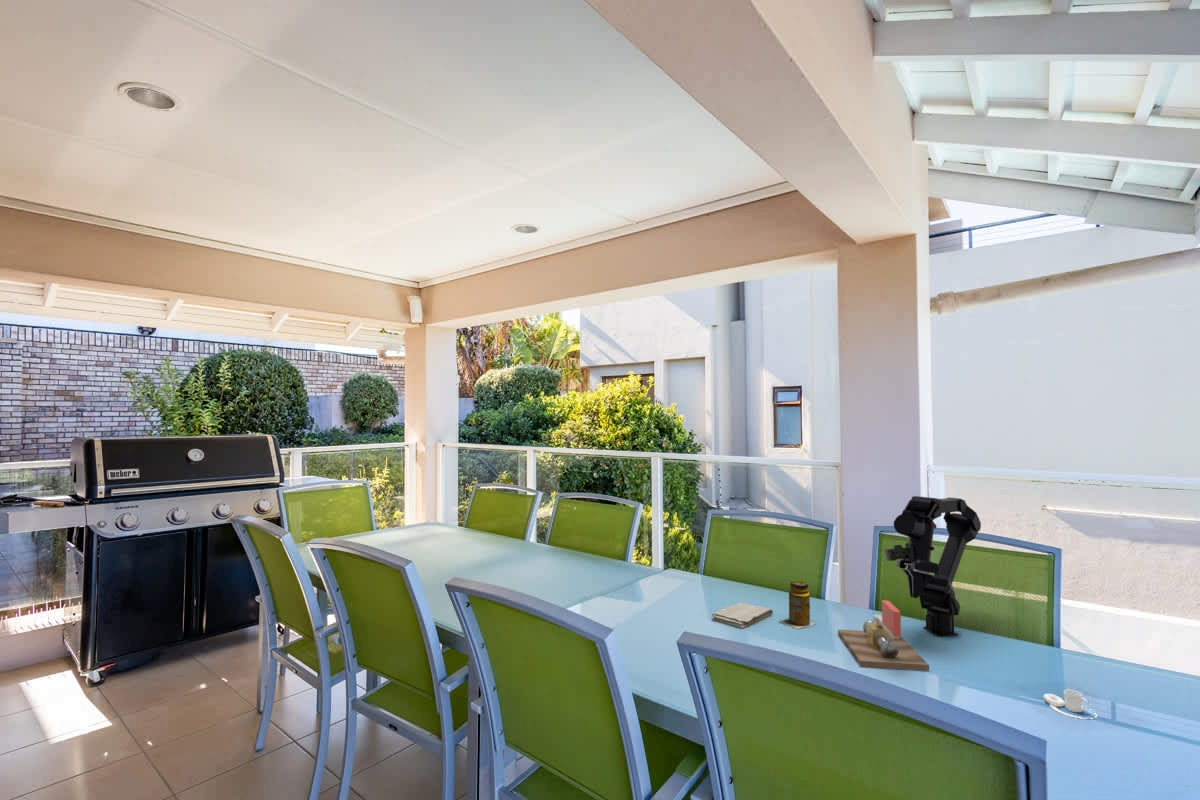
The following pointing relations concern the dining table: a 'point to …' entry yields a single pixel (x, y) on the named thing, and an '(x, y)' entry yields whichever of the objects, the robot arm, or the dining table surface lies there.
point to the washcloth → (742, 615)
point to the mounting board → (875, 658)
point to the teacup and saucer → (1068, 702)
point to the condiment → (798, 606)
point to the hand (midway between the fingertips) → (913, 597)
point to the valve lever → (890, 619)
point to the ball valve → (880, 639)
